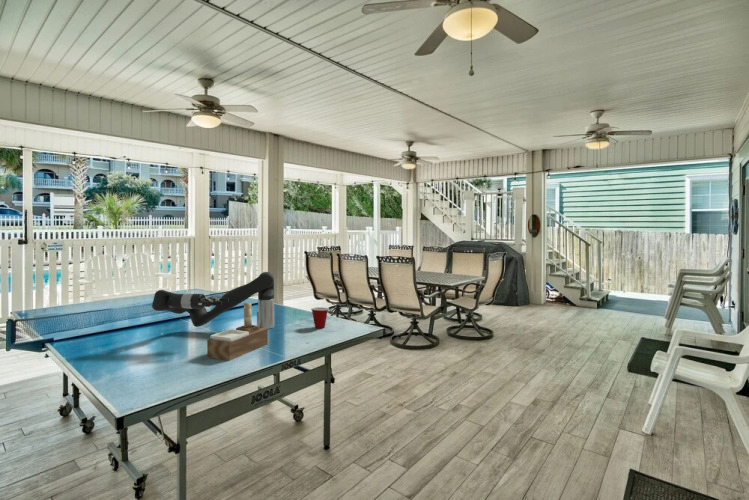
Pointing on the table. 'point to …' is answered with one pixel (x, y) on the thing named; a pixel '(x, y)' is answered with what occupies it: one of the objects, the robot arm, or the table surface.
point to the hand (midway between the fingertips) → (225, 301)
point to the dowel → (247, 315)
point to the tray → (229, 335)
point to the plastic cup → (319, 316)
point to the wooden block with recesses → (238, 344)
